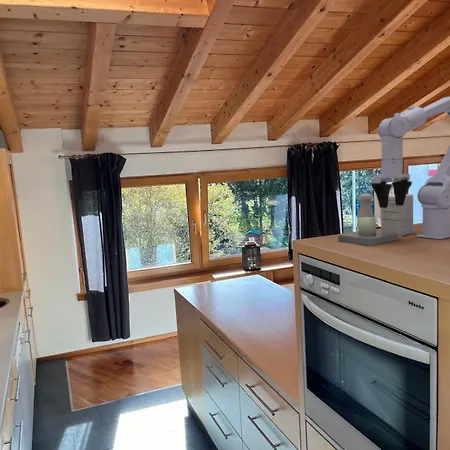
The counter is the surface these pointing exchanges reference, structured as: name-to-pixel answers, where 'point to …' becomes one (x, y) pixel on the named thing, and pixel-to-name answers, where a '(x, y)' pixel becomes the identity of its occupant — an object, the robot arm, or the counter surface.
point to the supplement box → (398, 216)
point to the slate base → (367, 238)
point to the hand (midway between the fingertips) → (391, 206)
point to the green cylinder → (367, 226)
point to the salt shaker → (365, 206)
